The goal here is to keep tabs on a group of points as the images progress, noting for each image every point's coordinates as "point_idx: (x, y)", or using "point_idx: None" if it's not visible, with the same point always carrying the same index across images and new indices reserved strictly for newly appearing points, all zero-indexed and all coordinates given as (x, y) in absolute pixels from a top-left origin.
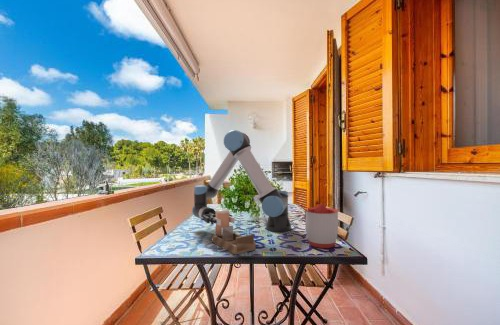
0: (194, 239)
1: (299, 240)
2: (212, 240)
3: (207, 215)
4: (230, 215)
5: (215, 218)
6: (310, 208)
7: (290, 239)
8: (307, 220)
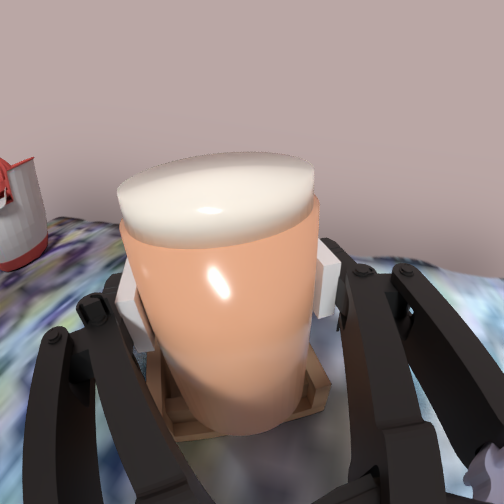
0: (449, 479)
1: (11, 288)
2: (325, 404)
3: (466, 499)
4: (67, 333)
5: (320, 241)
6: None
7: (12, 303)
8: (24, 190)
